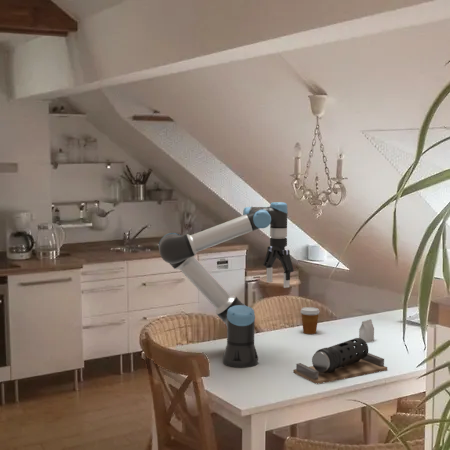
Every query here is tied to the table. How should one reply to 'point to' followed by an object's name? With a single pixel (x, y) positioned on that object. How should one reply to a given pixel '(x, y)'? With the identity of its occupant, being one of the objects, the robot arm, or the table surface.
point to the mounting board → (342, 370)
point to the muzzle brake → (339, 355)
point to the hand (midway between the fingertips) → (277, 284)
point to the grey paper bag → (367, 331)
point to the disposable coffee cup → (309, 319)
